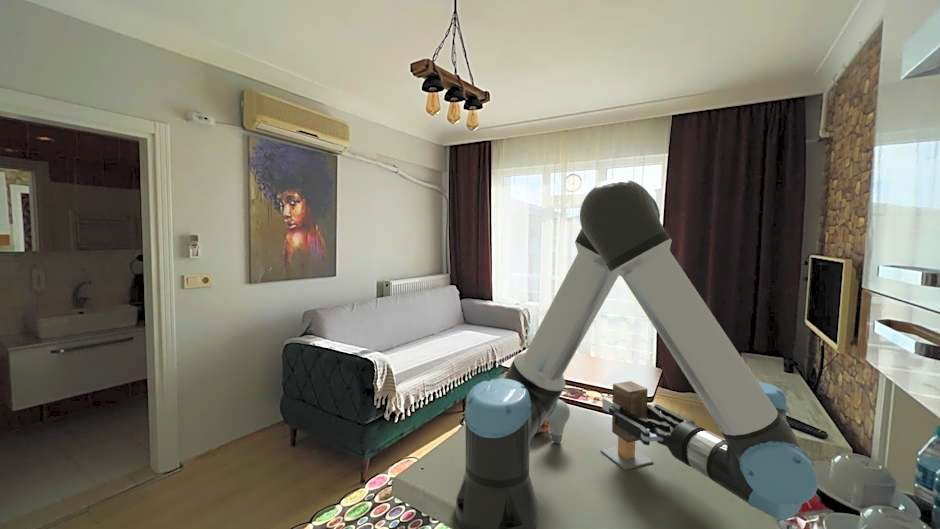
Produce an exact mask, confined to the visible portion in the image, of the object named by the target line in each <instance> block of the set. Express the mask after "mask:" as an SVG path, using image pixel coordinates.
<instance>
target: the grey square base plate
mask: <svg viewBox="0 0 940 529" xmlns="http://www.w3.org/2000/svg"><path fill="white" fill-rule="evenodd" d="M617 438H618V440H617V445H615V446H612V447H608V448H604V449H600V452H601V453H602V454H604V455H605V456H606V457H607V458H608V459H610V460H611V461H612V462H614V463H615V464H616V465H618V466H619V467H620V468H622V469H623V470H624V471H626V470H630V469H635V468H638V467H642V466H647V465H651V464H654V461H653V460H651V459H650V458H649V457H647V456H646V455H644V454H643V453H642V452H640V451H639V450H637V449H636V441H634V442H630V443H628V442H626V441H625V440H623V439H622V438H620V437H619V436H617Z"/></svg>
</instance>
